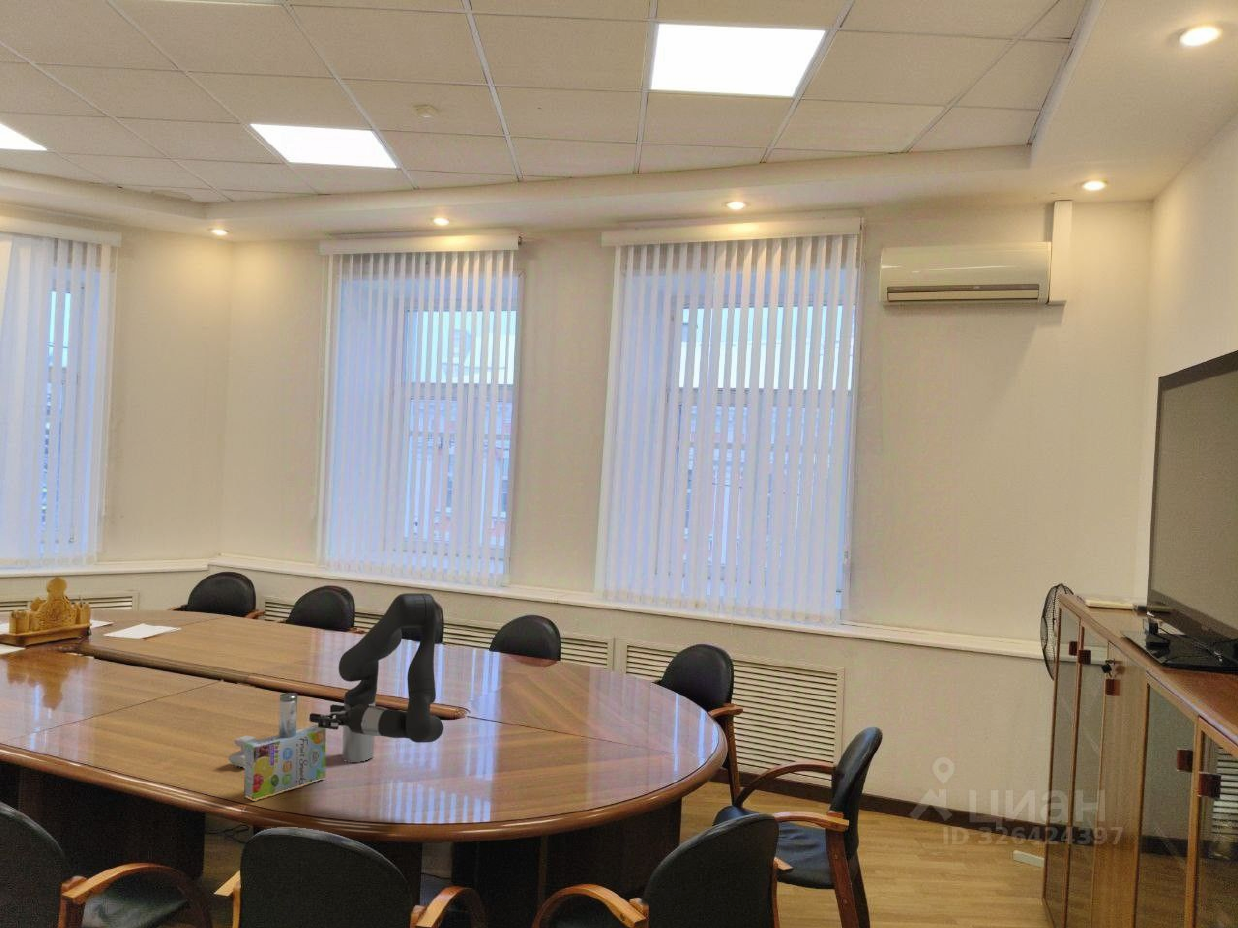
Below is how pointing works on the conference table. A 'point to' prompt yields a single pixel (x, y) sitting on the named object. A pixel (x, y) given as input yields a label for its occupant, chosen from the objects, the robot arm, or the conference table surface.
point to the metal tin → (288, 715)
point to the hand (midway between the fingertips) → (320, 712)
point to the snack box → (284, 761)
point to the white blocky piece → (239, 757)
